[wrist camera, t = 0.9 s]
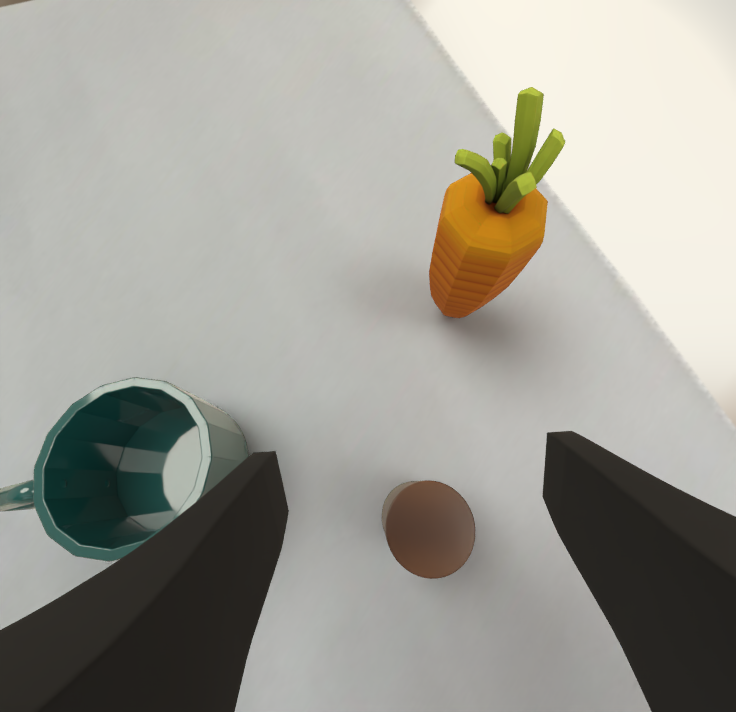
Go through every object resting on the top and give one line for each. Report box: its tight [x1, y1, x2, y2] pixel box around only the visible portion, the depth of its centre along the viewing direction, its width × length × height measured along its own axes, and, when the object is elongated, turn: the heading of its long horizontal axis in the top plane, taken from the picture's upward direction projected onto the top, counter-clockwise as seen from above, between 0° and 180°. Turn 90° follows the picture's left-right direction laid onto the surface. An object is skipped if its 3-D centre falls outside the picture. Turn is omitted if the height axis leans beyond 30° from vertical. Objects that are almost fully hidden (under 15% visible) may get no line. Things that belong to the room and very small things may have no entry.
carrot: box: [429, 87, 565, 318], centre depth 20 cm, size 5×5×15 cm
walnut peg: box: [382, 481, 475, 579], centre depth 20 cm, size 4×4×6 cm
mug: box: [0, 377, 248, 561], centre depth 21 cm, size 11×8×6 cm
